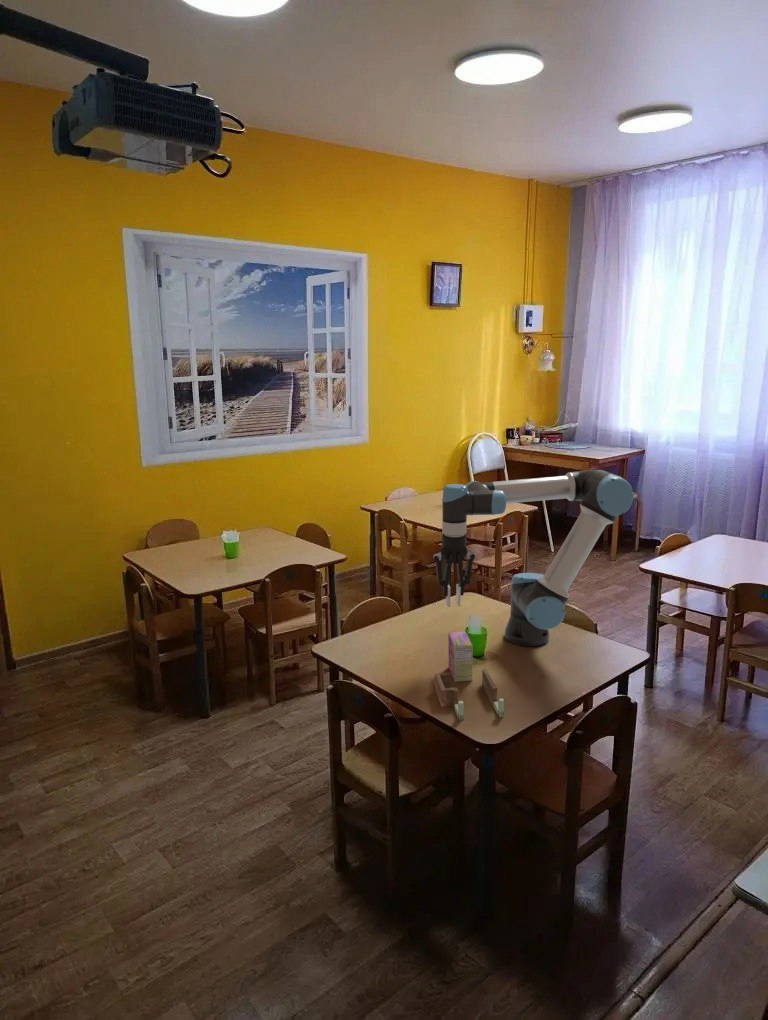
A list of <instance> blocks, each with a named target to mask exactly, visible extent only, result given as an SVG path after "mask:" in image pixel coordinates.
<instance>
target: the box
mask: <svg viewBox="0 0 768 1020" xmlns="http://www.w3.org/2000/svg"><path fill="white" fill-rule="evenodd" d="M447 635H448V646H447V647H448V649H447V650H448V669H449V672H450V674H451V678H452V679H453V682H454V683H455V682H456V683H457V682H471V681H473V660H474V659H473V655H474V653H473V652H474V650H473V648H474V647H473V645H474V644H473V643H472V641H471V640H470V638H469V636H468V634H467V632H466V631H457V632H456V631H455V632H453V631H452V632H448V634H447Z"/></svg>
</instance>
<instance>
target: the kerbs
mask: <svg viewBox="0 0 768 1020" xmlns="http://www.w3.org/2000/svg"><path fill="white" fill-rule="evenodd" d="M464 703H465V702H464V701H463V700H460V701H459V700H458V704H454V707H453V708H454V712H455V714H456V717H457V719H458V721H464V708H465V707H464ZM493 708H494V711H495V712H496V714H497V715H498V717H499V718H505V717H504V716H505V714H504V713H505V700H504V698H498V701H497V702H494V705H493Z"/></svg>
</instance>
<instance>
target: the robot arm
mask: <svg viewBox="0 0 768 1020" xmlns="http://www.w3.org/2000/svg"><path fill="white" fill-rule="evenodd" d="M563 499H567V500H568V501H570V502H575V501H576V502H577V501H578V502H580V503H579V507H580V513H579V515H578V517H577V519H576V520H575V522H574V524H573V526H572V527H571V529H570V531H569V532H568V535H567V536H566V538H565V540H563V543H562V545H561V546H560V548H559V550H558V552H557V553H556V554H555V557H554V559H552V562H551V563H550V565H549V567H548V568H547V569H546V572H545V574H542V573H538V572H537V573H536V572H521V573H520V572H519V573H516V574H513V575H512V576H511V577H512V578H511V582H510V585H511V586H510V615H509V619H508V621H507V623H506V625H505V628H504V639H505V640H506V641H508V642H509V643H511V644H513V645H518V646H523V647H538V646H543V645H546V644H547V643H548V642H549V640H550V632H549V631H550V630H551V629H554V628H556V627H557V626H559V625H560V624H561V623H562V622H563V621H564V619H565V617H566V616H565V615H566V608H565V605H566V603H567V601H569V598H570V594H569V588H570V586H572V583H573V582H574V580H575V578H576V577H577V575H578V574H579V572H580V570H581V568H583V567H582V566H583V565H584V563H585V562H586V561H587V560H586V559H588V556H589V555H590V553H591V551H592V550H593V548H594V546H595V545H596V543H597V542H598V540H599V538H600V536H601V535H602V533H603V531H604V530H605V528H606V526H607V525H611V524H614V523H615V521H616V519H617V517H618V516H620V515H623V514H625V513H627V512H628V511H629V510H630V508H631V506H632V505H633V501H634V489H633V488H632V485H631V484H630V482H629V481H627V480H626V479H625V478H623V477H622V476H620V475H617V474H615V473H611V472H609V471H606V470H603V469H587V470H586V469H585V470H579V471H569V472H567V473H566V474H565V475H558V476H556V475H555V476H545V477H535V478H522V479H511V480H500V481H499V480H498V481H486V482H481V481H479V480H477V481H476V480H473V481H469V482H467V484H461V483H459V484H458V483H451V484H446V485H444V487H443V489H442V499H441V500H442V505H441V506H442V507H441V508H442V509H441V510H442V520H441V521H442V523H441V526H442V528H441V529H442V531H441V532H442V535H441V549H440V552H438V553H433V555H432V558H433V559H434V562H435V570H436V580H437V583H438V585H439V586H442V590H443V591H442V592H443V594H442V595H443V596H444V597H445V599H446V600H445V605H446V606H447V607H448V608H449V607H451V589H452V588H451V586H450V584H449V582H450V575H451V568H452V564H456V570H457V572H456V573H457V578H458V583H456V586H455V587H456V590H455V591H456V595H455V598H456V599H455V601H456V602H455V604H456V605H457V607H461V596H464V591H465V589H464V587H465V585H469V584H470V583H471V576H472V569H473V561H474V560H475V558H476V555H475V553H474V552H470V551H468V549H467V535H466V534H467V519H468V517H467V516H489V515H490V516H495V515H501V514H504V513H505V511H506V507H507V504H513V503H514V504H515V503H517V504H518V503H526V502H537V501H538V502H539V501H540V502H541V501H552V500H553V501H554V500H563ZM442 557H443V559H444V560H445V565H444V566H445V567H444V572H443V573H444V575H443V574H442V565H441V560H442ZM465 558H466V565H465V573H463V572H464V571H463V560H464V559H465Z"/></svg>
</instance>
